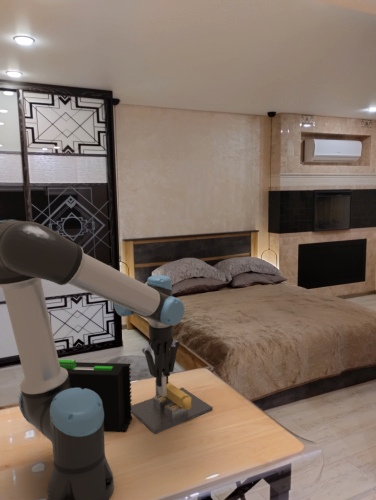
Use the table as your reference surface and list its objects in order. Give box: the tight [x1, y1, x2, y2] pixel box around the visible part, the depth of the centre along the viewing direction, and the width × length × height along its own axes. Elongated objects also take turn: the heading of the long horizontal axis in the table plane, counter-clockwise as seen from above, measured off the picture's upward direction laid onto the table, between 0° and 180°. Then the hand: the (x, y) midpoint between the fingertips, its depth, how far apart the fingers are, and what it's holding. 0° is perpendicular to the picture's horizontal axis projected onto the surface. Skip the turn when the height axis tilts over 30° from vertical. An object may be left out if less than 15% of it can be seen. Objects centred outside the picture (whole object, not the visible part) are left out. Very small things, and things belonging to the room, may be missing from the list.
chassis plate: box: [131, 387, 214, 434], centre depth 131 cm, size 22×18×4 cm
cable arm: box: [155, 379, 191, 410], centre depth 131 cm, size 18×4×6 cm, turn 36°
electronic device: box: [35, 358, 133, 433], centre depth 125 cm, size 28×11×20 cm, turn 85°
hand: (162, 394), depth 130 cm, fingers closed
